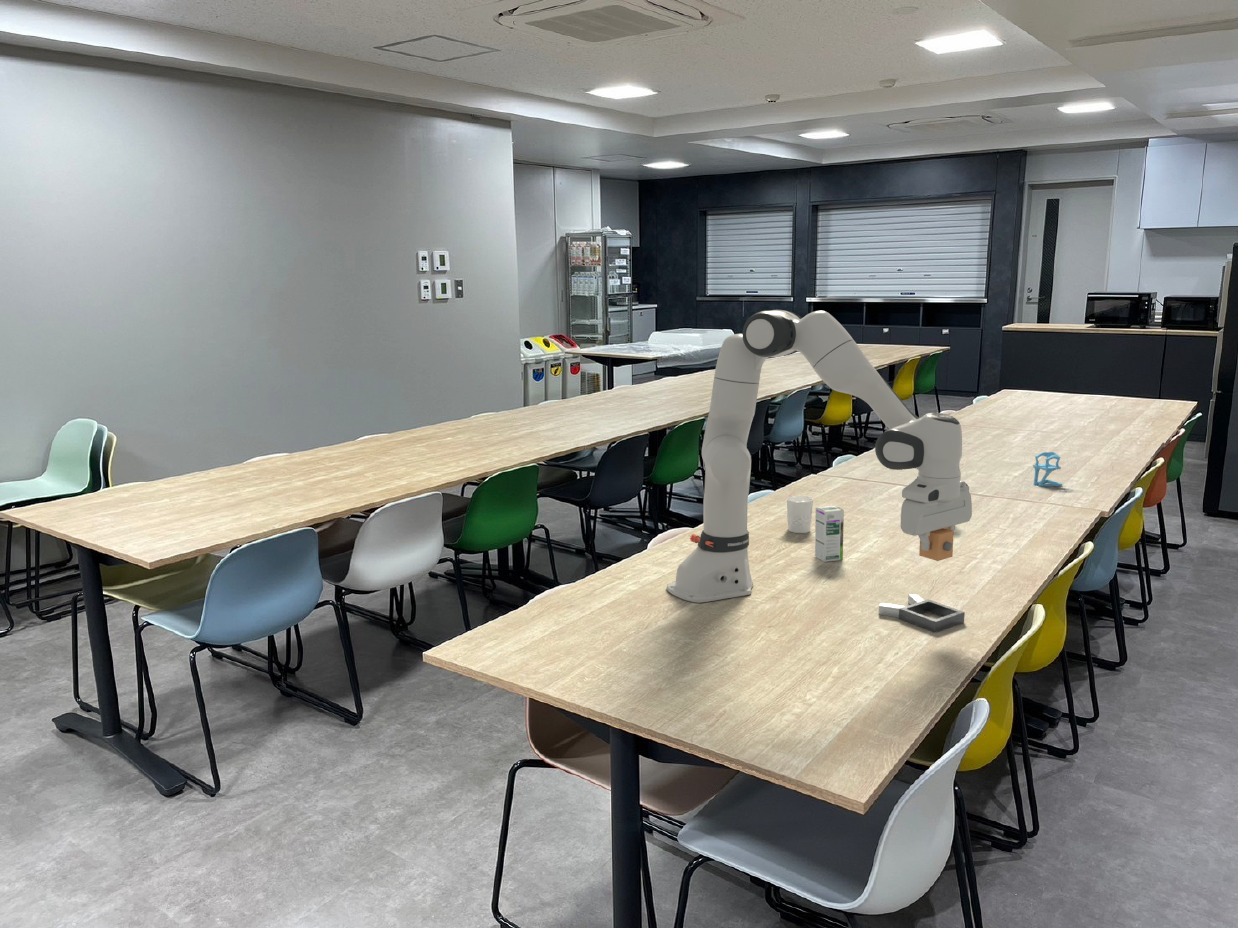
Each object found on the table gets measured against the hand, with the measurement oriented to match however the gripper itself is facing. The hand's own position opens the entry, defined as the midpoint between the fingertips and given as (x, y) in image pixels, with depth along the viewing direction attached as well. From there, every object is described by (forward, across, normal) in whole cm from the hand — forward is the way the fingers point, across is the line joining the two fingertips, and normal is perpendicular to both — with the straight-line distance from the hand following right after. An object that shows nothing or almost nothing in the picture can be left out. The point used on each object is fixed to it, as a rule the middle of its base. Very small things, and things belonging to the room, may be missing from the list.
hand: (936, 547), depth 202 cm
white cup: (+18, -27, -71) cm, 78 cm away
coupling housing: (+17, 0, -3) cm, 18 cm away
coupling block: (+2, 0, 0) cm, 2 cm away
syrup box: (+18, -14, -46) cm, 51 cm away
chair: (+18, -140, -61) cm, 154 cm away
